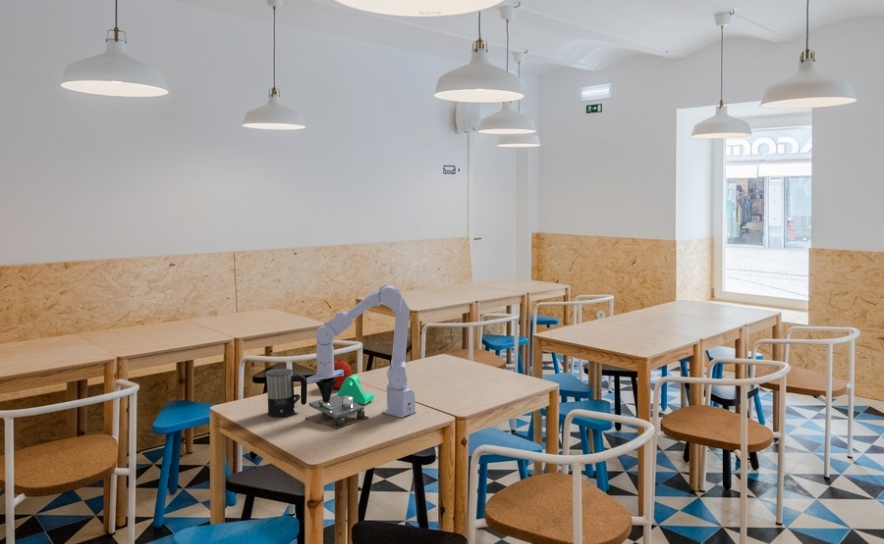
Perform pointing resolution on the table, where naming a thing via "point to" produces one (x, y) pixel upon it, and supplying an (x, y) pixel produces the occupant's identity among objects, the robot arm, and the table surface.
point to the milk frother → (284, 392)
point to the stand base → (333, 420)
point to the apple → (347, 372)
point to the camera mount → (354, 390)
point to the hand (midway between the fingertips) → (326, 400)
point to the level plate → (337, 406)
